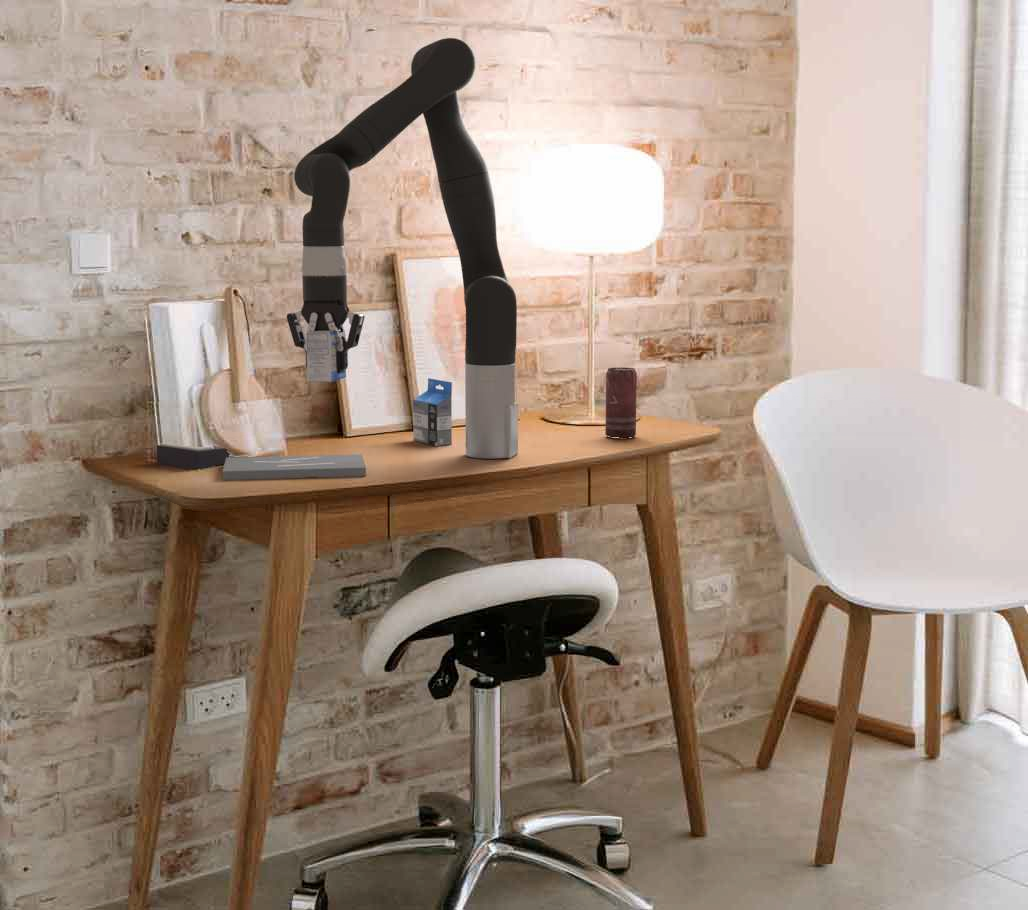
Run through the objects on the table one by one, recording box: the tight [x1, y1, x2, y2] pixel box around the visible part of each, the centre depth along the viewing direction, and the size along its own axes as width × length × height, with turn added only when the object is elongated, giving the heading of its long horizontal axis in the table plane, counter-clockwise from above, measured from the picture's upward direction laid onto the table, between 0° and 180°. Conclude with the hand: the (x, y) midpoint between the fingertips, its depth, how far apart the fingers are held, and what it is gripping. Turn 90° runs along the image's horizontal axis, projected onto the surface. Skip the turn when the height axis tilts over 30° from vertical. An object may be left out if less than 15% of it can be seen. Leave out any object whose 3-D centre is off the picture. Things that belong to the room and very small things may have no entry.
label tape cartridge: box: [412, 377, 453, 447], centre depth 269 cm, size 9×4×12 cm, turn 36°
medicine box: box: [305, 329, 347, 383], centre depth 237 cm, size 8×4×9 cm, turn 168°
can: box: [605, 367, 638, 438], centre depth 276 cm, size 6×6×14 cm
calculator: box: [156, 442, 231, 471], centre depth 249 cm, size 11×4×15 cm
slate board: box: [222, 453, 367, 481], centre depth 239 cm, size 24×14×2 cm, turn 99°
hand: (326, 371), depth 238 cm, fingers closed on medicine box, 4 cm apart
